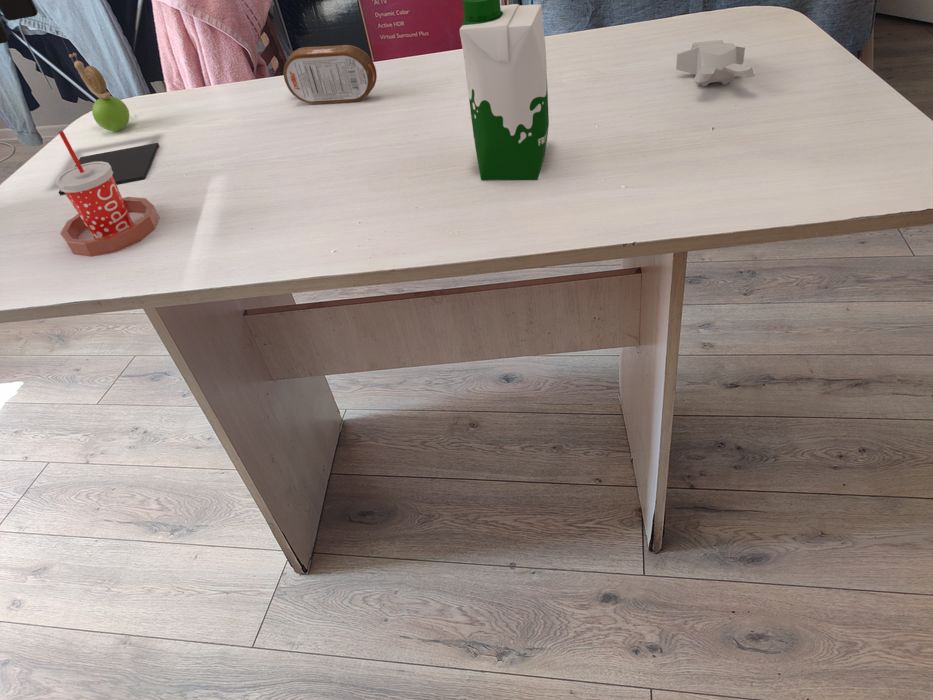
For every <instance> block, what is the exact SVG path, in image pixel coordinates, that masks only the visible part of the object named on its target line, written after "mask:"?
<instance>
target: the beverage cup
mask: <svg viewBox="0 0 933 700" xmlns="http://www.w3.org/2000/svg"><path fill="white" fill-rule="evenodd" d="M58 134H59V136H60V139H61V140H62V141H63V143H64V145H65V147H66V149H67V151H68V153H69V155H70V157H71V159H72V160H73V162H74V165H76V167H75V166H73V167H71V168H69V169H67V170H65V171H63V172H62V173H61V174H59V175H58V176H57V177H56V179H55V184H56V186H57V187H58V189H59V191H60V190H61V191H63V192H65V194H64V195H66V197H67V199H68V200H69V202H70V203H71V204H72V207H74V209H75V211H76V213H77V214H79V215H80V217H81V219H82V220H83V222H84V223H85V225H86V226H87V229H88V231H89V233H90V234H91V236H92V237H93V239H96V238H101V237H107V236H110V235H113V234H115V233H117V232H120V231H122V230H124V229H127V228H129V227H131V226H132V225H133V224H134V222H133V220H132V218H131V215H130V212H129V213H128V211H127V208H126V206H125V204H124V201H123V199H122V198H123V197H122V194H121V192H120V189H119V187H118V184H117V185H116V183H115V180H114V178H113V176H112V175H113V171H112V170H111V169H112V168H111V166H110V165H109V163H107V162H103V161H100V162H90V163H85V164H80V162H79V158H78V157H77V155H76V153H75V151H74V149H73V147H72V146H71V145H72V144H70V141H69V140H68V138H67V136H66V134H65V132H64V131H63V130H60V131H58Z"/></svg>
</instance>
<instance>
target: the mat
mask: <svg viewBox="0 0 933 700" xmlns="http://www.w3.org/2000/svg"><path fill="white" fill-rule="evenodd" d="M159 148H160V144H159V142H154V143H148V144H143V145H138V146H132V147H127V148H121V149H116V150H112V151H111V150H110V151H107V152H106V151H105V152H100V153H95V154H88V155H83V156H80V157H79V158H78V160H79V162H80V164H85V163H90V162H100V161H103V162H107V163H109V165H110V166H111V168H112V169H111V170H112V171H113V175H112V176H113V178H114V180H115V183H116V185H117V186H118V185H123V184H127V183H133V182H137V181H139V182H140V181H143V180H146V177H147V175H148V173H149V171H150V168H151V165H152V163H153V161H154V158H155V156H156V154H157V152H158V150H159ZM74 167H76V164H74ZM58 194H59V196H64V195H66V194H65V192H63V191H61V190H60V189H59V191H58Z"/></svg>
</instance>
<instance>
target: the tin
mask: <svg viewBox="0 0 933 700" xmlns="http://www.w3.org/2000/svg"><path fill="white" fill-rule="evenodd" d="M282 75H283V79H284V82H285V85H286V87H287V89H288V90H289V92H290V93H291V94H292V95H293V96H294V97H295V98H296V99H298V100H299V101H301V102H302V103H307V104H312V105H318V104H339V103H341V104H343V103H356V102H361V101H362V100H364V99H366V98H367V97H368V96H369V95H370V93H371V92H372V91H373V89H374V88H375V87H376V82H377V80H378V79H377V78H378V75H377V68H376V65H375V62H374V61H373V60H372V57H370V56H369V54H368V53H367V52H365V50H363V49H361V48H359V47H357V46H354V45H350V44H342V45H325V46H305V47H300V48H297V49H295V50H294V51H292V52H291V54H290V55H289V57H288V58H287V60H286V61H285V63H284V66H283V69H282Z"/></svg>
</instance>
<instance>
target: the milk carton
mask: <svg viewBox="0 0 933 700" xmlns="http://www.w3.org/2000/svg"><path fill="white" fill-rule="evenodd" d="M542 7H543V6H542V3H537V4H536V3H535V4H534V3H533V4H522V5H520V4H519V3H513V4H512V3H511V4H507V5H501V1H500V0H462V9H463V16H464V17H463V19H462V23H461V25H460V28H459V31H458V32H459V36H460V41H461V42H460V43H461V49H462V54H463V60H464V67H465V68H464V69H465V76H466V84H467V85H466V86H467V92H468V93H467V95H468V101H469V102H468V103H469V110H470V119H471V127H472V134H473V141H474V147H475V153H476V159H477V166H478V171H479V176H480V181H538V180H539V177H540V172H541V171H542V166H543V164H544V160H545V157H546V152H547V142H548V134H549V126H550V118H549V117H550V116H549V113H550V112H549V93H548V92H549V89H548V70H547V68H548V67H547V48H546V47H547V46H546V38H545V28H544V20H543V18H544V17H543V8H542Z"/></svg>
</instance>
